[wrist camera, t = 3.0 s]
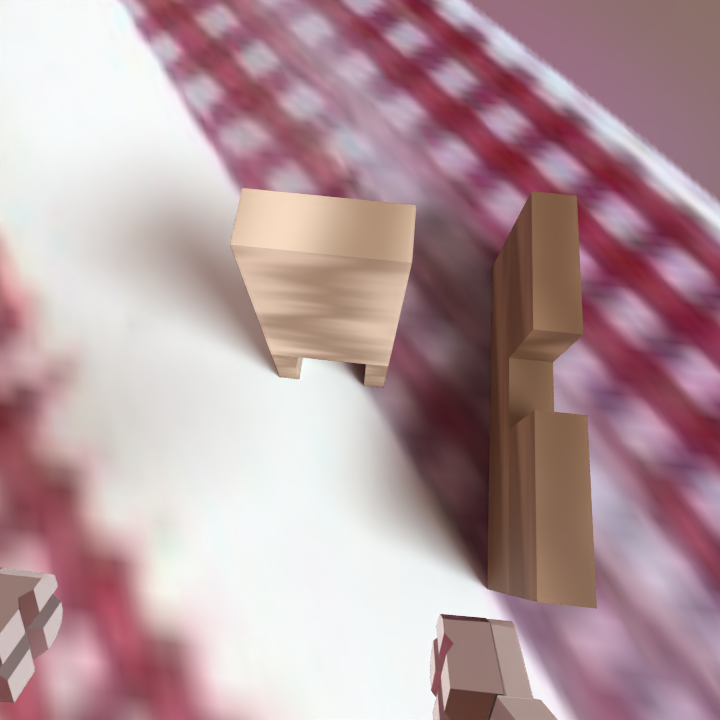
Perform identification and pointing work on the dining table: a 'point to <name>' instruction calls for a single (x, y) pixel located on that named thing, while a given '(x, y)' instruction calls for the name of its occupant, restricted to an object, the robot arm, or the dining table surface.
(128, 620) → the dining table surface
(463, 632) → the robot arm
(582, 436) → the walnut slotted plate
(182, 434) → the dining table surface
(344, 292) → the ash slotted plate
